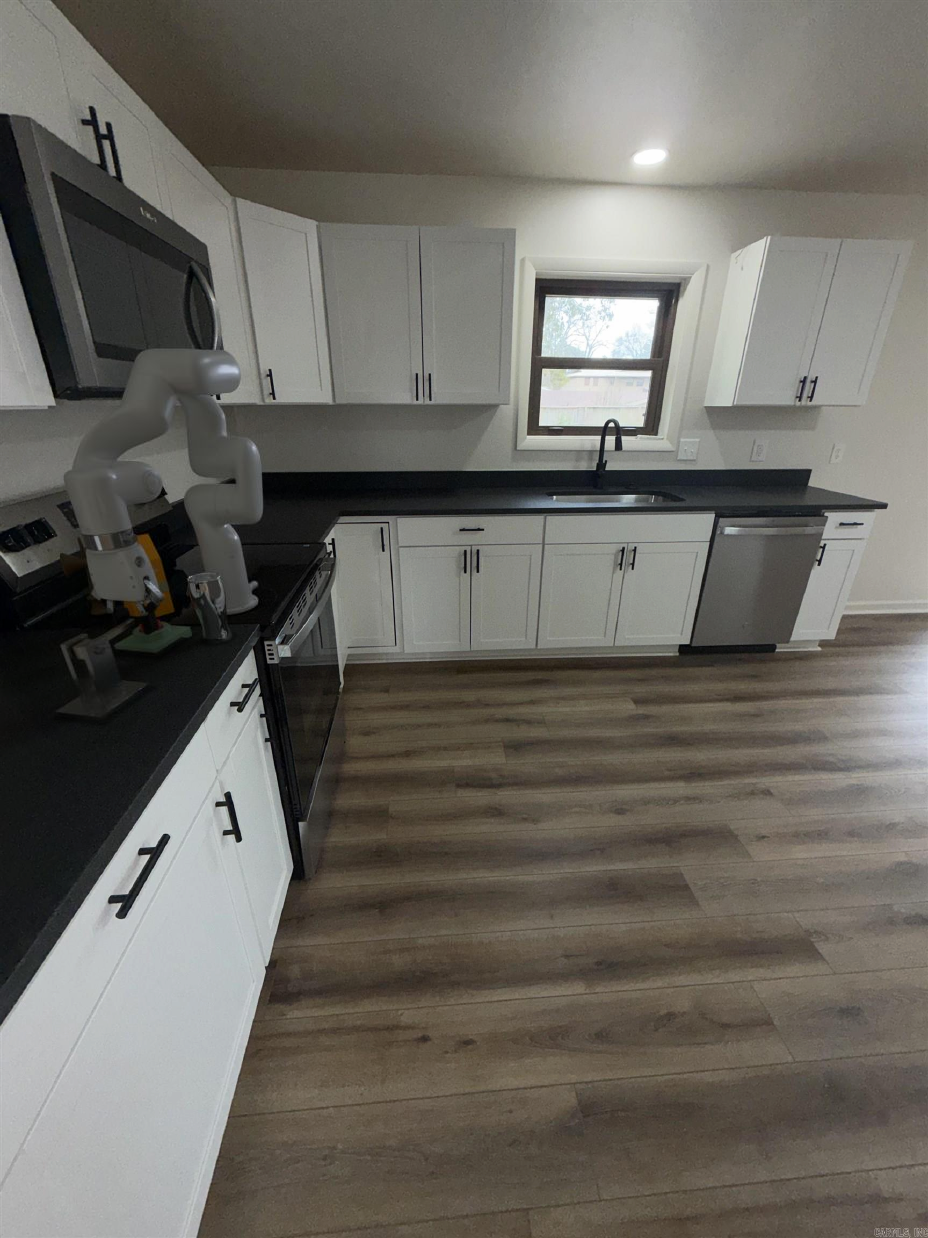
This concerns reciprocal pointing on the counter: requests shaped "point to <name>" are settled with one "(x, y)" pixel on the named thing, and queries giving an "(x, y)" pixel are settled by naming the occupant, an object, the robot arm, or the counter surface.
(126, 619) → the stove lever
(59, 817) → the counter surface
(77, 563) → the kendama
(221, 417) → the robot arm
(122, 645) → the button block
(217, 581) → the beer glass
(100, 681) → the lever bracket
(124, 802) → the counter surface
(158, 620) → the button
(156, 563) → the orange juice
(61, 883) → the counter surface
